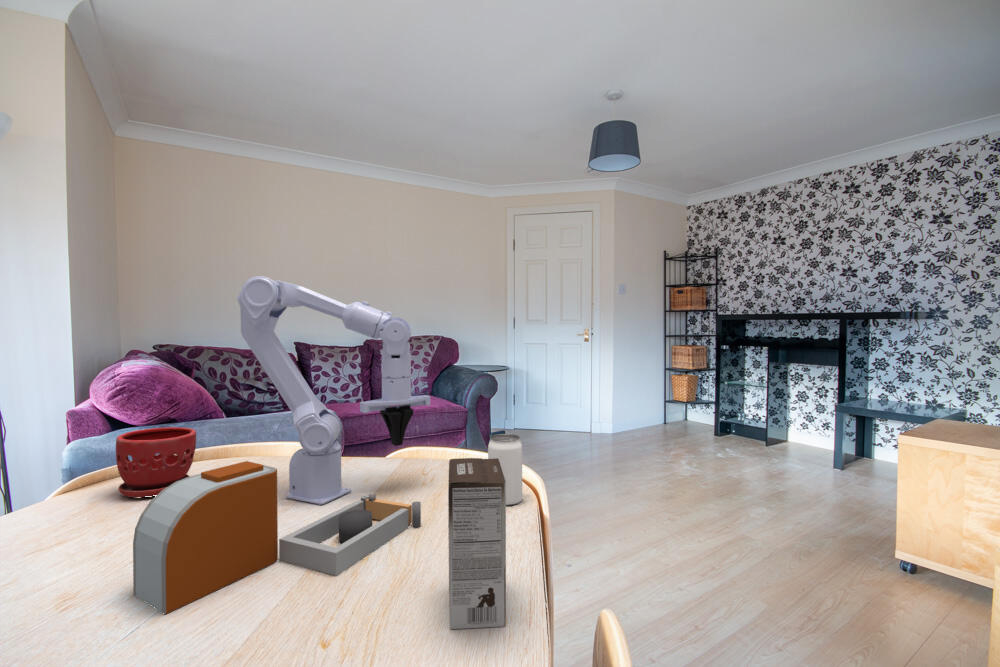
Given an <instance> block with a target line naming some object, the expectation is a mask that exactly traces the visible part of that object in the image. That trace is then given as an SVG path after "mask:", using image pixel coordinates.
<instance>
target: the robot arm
mask: <svg viewBox="0 0 1000 667" xmlns="http://www.w3.org/2000/svg"><path fill="white" fill-rule="evenodd" d="M237 302H238V304H239V310H240V311H239V312H240V313H239V315H240V334H241V336H242V338H243V340H245V342H246V344H247V345H248V347H249V348H250V350H251V352H252V353H253V355H254V357H255V358H256V359H257V361H258V362H259V364H260V365H261V367H262V368H263V370H264V371H265V374H267V376H268V378H269V379H270V381H271V382H272V384H273V385H274V386H275V389H276V390H277V391H278V394H280V396H281V398H282V399H283V401H284V402H285V404H286V405H287V407H288V408H289V410H290V412H291V413H292V419H293V425H294V427H295V429H296V430H297V433H298V441H299V444H300V447H301V448H300V449H297V450H296V451H295V452H294V453H293V455H292V456H291V458H290V460H289V463H288V464H289V465H288V466H289V467H288V469H289V470H288V471H289V472H288V473H289V477H288V478H289V480H288V481H289V483H288V484H289V489H288V490H289V493H288V494H286V495H285V497H286V498H287V499H291V500H295V501H296V500H297V501H300V502H306V503H312V504H317V505H324V504H326V503H327V504H328V502H331V501H333V500H337V499H338V498H340V497H342V496H344V495H347V494H348V493H351V492H352V489H351V488H347V487H342V445H341V444H340V443H339V441H338V438H339V437H340V436H341V434H342V432H343V424H342V421H341V419H340V417H338V416H337V415H336V414H334V413H333V412H331V411H330V410H329V409H328V408H327V406H326V405H325V404H324V403H323V401H320V400H319V399H318V398H317V396H316V394H314V391H313V390H312V389H311V388H310V386H309V383H308V382H307V381H306V379H305V378H304V376H303V375H302V373H301V372H300V370H299V369H298V367H297V365H296V364H295V362H294V361H293V359H292V358H291V356H290V354H289V353H288V351H287V350H286V348H285V347H284V345H283V344H282V342H281V340H280V339H279V337H278V335H276V332H275V330H276V326H277V323H278V321H279V319H280V317H281V315H282V314H283V313H284V312H285V310H286V309H287V308H292V309H293V308H298V307H305V308H308V309H312V310H313V311H316V312H319V313H323V314H326V315H328V316H332V317H333V318H334V317H335V318H337V319H340V320H341V321H342V323H343V325H344V328H346V329H347V330H350V331H353V332H355V333H358V334H361V335H364V336H366V337H369V338H372V339H374V340H378V339H379V338H380V339H381V340H382V342H383V343H382V354H381V398H377V399H372V400H366V401H360V402H359V409H360V410H359V412H360V413H362V414H369V413H371V412H378V411H379V414H380V416H381V417H382V419H383V421H384V424H385V425H386V428H387V431H388V433H389V434H388V435H389V438H390V443H391V445H393V446H395V447H398V446H402V445H403V442H404V437H405V435H406V430H407V428H408V425H409V423H410V421H411V419H412V417H413V415H414V409H413V407H419V406H420V407H421V406H431V395H428V394H427V395H426V394H423V395H412V355H411V352H410V351H411V344H410V342H409V340H410V339H411V336H412V330H411V326H410V325H409V323H408V322H407V320H405V319H403V318H402V317H399V316H394V317H392V315H393V313H392V312H391V311H389V310H387V311H386V312H385V311H383V310H381V309H378V308H375V307H372V306H370V303H369V302H368V301H365V300H362V301H361V302H359V301H354V302H352V303H349V304H345V303H343V302H341V301H338V300H335V299H333V298H332V297H328V296H326V295H325V294H322V293H318V292H316V291H315V290H314V291H313V290H312V289H309V288H308V287H305V286H301V285H299V284H295V283H289V282H286V281H282V280H277V279H275V280H273V279H271V278H270V277H267V276H265V275H264V276H263V275H257V276H253V277H249V278H248V279H247V280H246V281H245V283H243V286H242V287H241V290H240V291H239V294H238V296H237Z"/></svg>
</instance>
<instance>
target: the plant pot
mask: <svg viewBox="0 0 1000 667" xmlns="http://www.w3.org/2000/svg"><path fill="white" fill-rule="evenodd" d="M196 446H197V431H196V430H195V429H193V428H189V427H178V426H175V427H172V426H171V427H169V426H168V427H156V428H145V429H138V430H133V431H129V432H125V433H121V434H119V435H118V436H117V437H116V438H115V459H116V460H115V461H116V467H117V470H118V474H119V476H120V478H121V480H122V481H123V483H120V485H119V486H118V492H119V493H120V494H121V495H122V496H124V497H126V496H127V498H130V497H145V496H153V495H158V494H159V493H160V492H161V491H162V490H163V489H165V488H167V487H168V486H170V485H171V484H173V483H175V482H176V481H179V480H182V479H184V478H187V477H190V475H189V474H188V473H189V472H190V469H191V467H192V464H193V461H194V456H195V452H196V448H197V447H196ZM129 457H131V460H130V459H129Z"/></svg>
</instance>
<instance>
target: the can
mask: <svg viewBox="0 0 1000 667" xmlns="http://www.w3.org/2000/svg"><path fill="white" fill-rule="evenodd" d="M520 438H521V437H520V436H519V435H517V434H511V433H498V434H494V435H493V434H492V435H491V436H490V440H489V442H488V445H487V459H494V458H498V459H499V462H500V465H501V468H502V471H503V475H504V478H505V481H506V507H509V506H515V505H518V504H519V503H521V502H522V500H523V445H522V442H521V440H520Z"/></svg>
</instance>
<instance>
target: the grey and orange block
mask: <svg viewBox="0 0 1000 667" xmlns="http://www.w3.org/2000/svg"><path fill="white" fill-rule="evenodd" d="M189 476H190V475H189ZM278 524H279V523H278V469H277V468H276V467H273V466H269V465H265V464H261V463H256V462H252V461H248V460H245V461H241V462H238V463H233V464H230V465H226V466H222V467H219V468H213V469H209V470H206V471H202V472H200V473H199V474H194V475H191V476H190V477H187V478H184V479H182V480H179V481H176V482H175V483H173V484H171V485H170V486H168V487H167V488H165V489H163V490H162V491H161V492H160V493H159V494H158V495H157V496H156V497H152V499H151V500H150V501H149V502H148V504H147V505H146V506H145V508H144V510H143V511H142V512H141V514H140V516H139V518H138V521H137V523H136V526H135V527H134V533H133V540H132V559H133V560H132V573H133V574H132V577H133V578H132V579H133V582H132V584H133V587H132V588H133V596H134V597H135V598H137V599H139V600H141V601H142V600H143V601H142V602H144V601H145V602H147V603H148V604H147V603H146V604H147V605H149V604H150V605H152V606H153V607H155V608H156V609H155V608H154V609H155V610H157V611H158V610H159V611H158V612H159V613H161V612H162V613H161V614H163V613H164V614H163V615H168V614H170V613H171V612H174V611H176V610H179V609H180V608H182V607H184V606H187V605H188V604H191V603H193V602H195V601H197V600H199V599H201V598H203V597H205V596H208V595H210V594H212V593H215V592H216V591H218V590H221V589H222V588H223V589H224V588H225V587H226V586H229V585H231V584H233V583H235V582H238V581H239V580H243V579H244V578H247V577H249V576H250V575H252V574H255V573H256V572H259V571H261V570H263V569H265V568H267V567H270V566H271V565H273V564H275V562H277V560H278V559H279V558H278V557H279V556H278V555H279V553H278V552H279V550H278V549H279V543H278V542H279V538H278V535H279V534H278ZM145 602H144V603H145ZM150 605H149V606H150ZM152 606H151V607H152ZM153 607H152V608H153Z"/></svg>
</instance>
